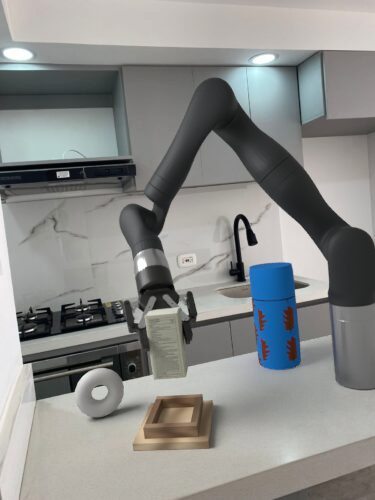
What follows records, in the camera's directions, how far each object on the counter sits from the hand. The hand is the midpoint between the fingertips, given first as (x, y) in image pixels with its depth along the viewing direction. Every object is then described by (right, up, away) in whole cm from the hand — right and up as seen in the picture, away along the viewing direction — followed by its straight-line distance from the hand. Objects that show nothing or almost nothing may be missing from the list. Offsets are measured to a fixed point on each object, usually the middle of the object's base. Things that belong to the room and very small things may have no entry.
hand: (168, 345), depth 65 cm
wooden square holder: (+1, -16, +2) cm, 16 cm away
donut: (-14, -17, +10) cm, 24 cm away
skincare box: (0, -6, +2) cm, 6 cm away
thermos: (+27, -11, +27) cm, 40 cm away
